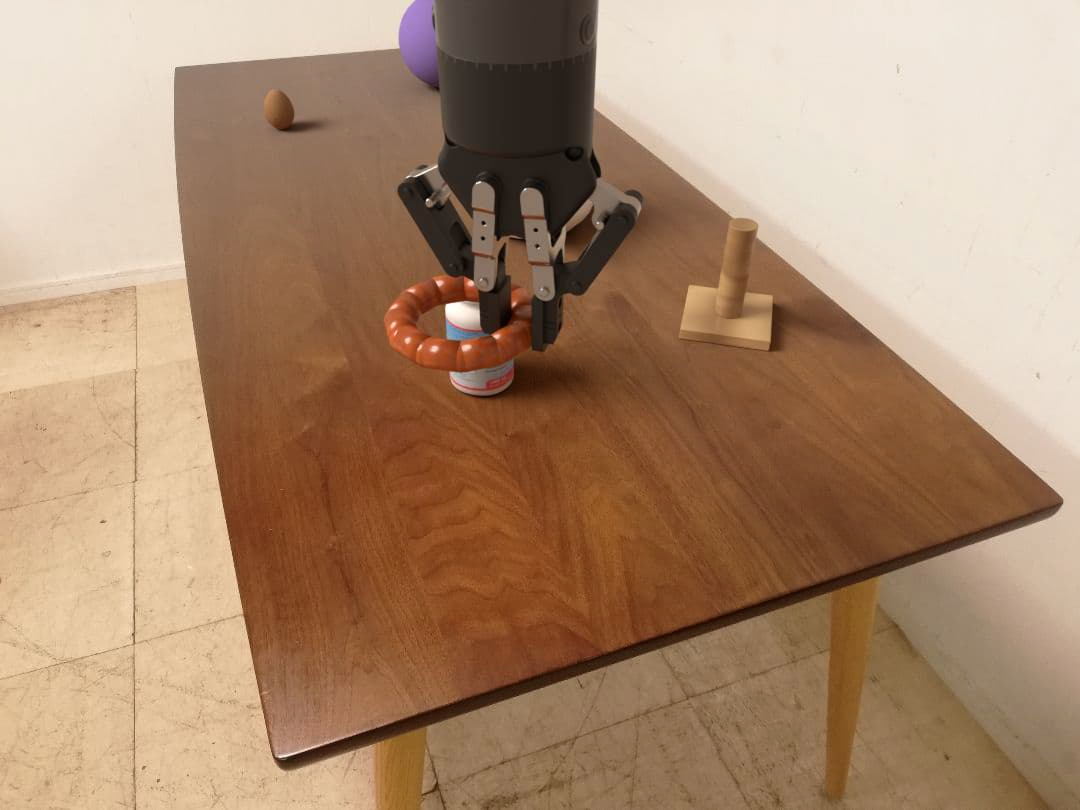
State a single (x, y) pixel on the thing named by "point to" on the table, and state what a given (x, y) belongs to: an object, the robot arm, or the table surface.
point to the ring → (450, 351)
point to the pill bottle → (467, 326)
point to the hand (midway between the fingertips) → (521, 339)
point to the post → (730, 299)
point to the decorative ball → (419, 42)
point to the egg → (278, 109)
